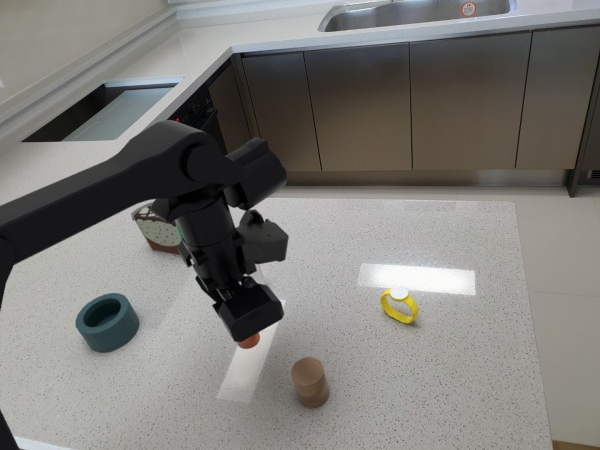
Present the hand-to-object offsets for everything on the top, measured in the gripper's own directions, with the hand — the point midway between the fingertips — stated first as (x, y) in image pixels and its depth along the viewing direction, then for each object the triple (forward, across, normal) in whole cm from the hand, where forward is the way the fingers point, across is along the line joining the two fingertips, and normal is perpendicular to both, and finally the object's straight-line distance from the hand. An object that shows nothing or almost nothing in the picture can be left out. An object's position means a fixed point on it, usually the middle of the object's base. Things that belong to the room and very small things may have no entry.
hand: (242, 322), depth 61 cm
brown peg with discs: (+4, 0, 0) cm, 4 cm away
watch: (+13, -4, -23) cm, 27 cm away
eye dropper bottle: (+13, +18, -7) cm, 23 cm away
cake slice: (+13, +41, 0) cm, 43 cm away
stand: (+13, -7, -5) cm, 15 cm away
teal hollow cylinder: (+13, +25, +17) cm, 33 cm away
